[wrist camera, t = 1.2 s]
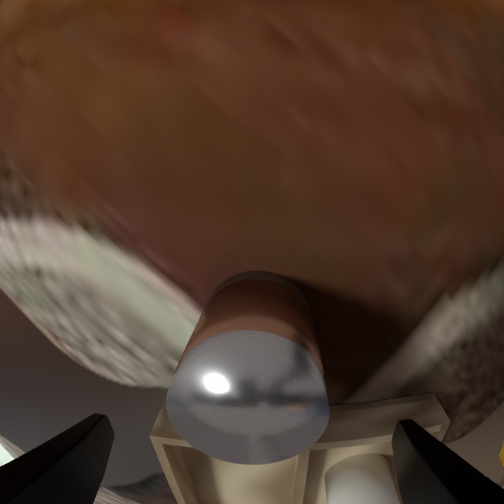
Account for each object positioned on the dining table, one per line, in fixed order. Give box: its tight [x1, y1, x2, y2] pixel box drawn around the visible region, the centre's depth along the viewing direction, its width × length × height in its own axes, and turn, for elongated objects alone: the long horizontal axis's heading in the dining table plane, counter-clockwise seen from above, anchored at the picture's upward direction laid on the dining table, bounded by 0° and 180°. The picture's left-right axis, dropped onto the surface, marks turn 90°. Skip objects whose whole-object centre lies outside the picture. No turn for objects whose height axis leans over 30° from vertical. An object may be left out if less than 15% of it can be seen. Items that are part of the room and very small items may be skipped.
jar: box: [324, 453, 400, 504], centre depth 15 cm, size 5×5×6 cm
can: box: [166, 271, 330, 465], centre depth 13 cm, size 5×5×7 cm
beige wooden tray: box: [150, 392, 450, 504], centre depth 18 cm, size 17×14×3 cm
